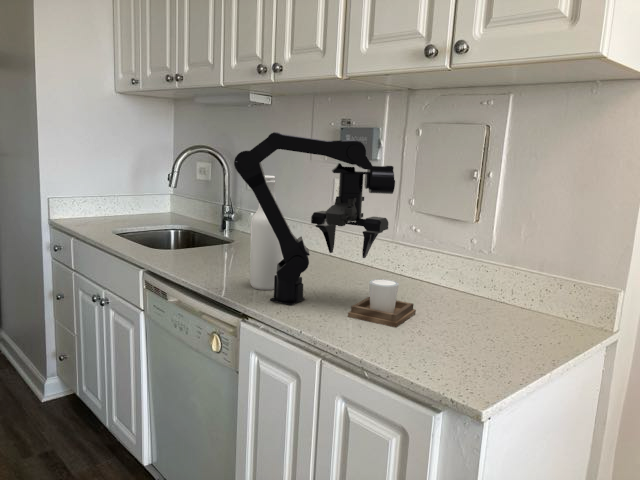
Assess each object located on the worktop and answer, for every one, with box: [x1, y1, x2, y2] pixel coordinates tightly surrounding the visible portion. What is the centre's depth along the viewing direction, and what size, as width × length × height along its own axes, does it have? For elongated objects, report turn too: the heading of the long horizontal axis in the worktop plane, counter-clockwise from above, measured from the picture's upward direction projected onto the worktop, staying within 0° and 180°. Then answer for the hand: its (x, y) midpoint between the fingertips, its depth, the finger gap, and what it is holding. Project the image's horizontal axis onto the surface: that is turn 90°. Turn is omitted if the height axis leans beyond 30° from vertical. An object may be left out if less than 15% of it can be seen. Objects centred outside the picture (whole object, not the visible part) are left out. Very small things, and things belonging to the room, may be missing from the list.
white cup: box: [368, 278, 399, 313], centre depth 123 cm, size 7×7×7 cm
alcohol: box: [249, 174, 284, 291], centre depth 142 cm, size 9×9×30 cm
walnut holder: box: [347, 296, 417, 328], centre depth 124 cm, size 12×12×2 cm
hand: (347, 255), depth 131 cm, fingers open, 9 cm apart
